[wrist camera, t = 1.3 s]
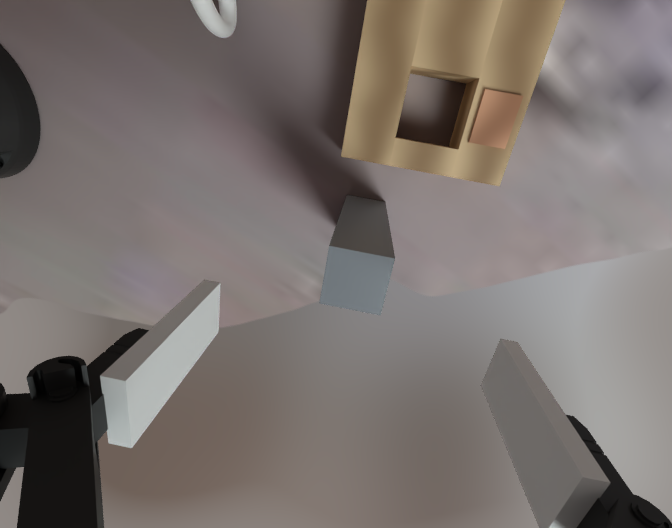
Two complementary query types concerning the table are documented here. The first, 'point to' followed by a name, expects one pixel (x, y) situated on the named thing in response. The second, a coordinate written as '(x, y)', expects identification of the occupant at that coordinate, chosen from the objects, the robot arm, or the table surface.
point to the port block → (449, 64)
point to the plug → (359, 257)
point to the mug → (217, 16)
